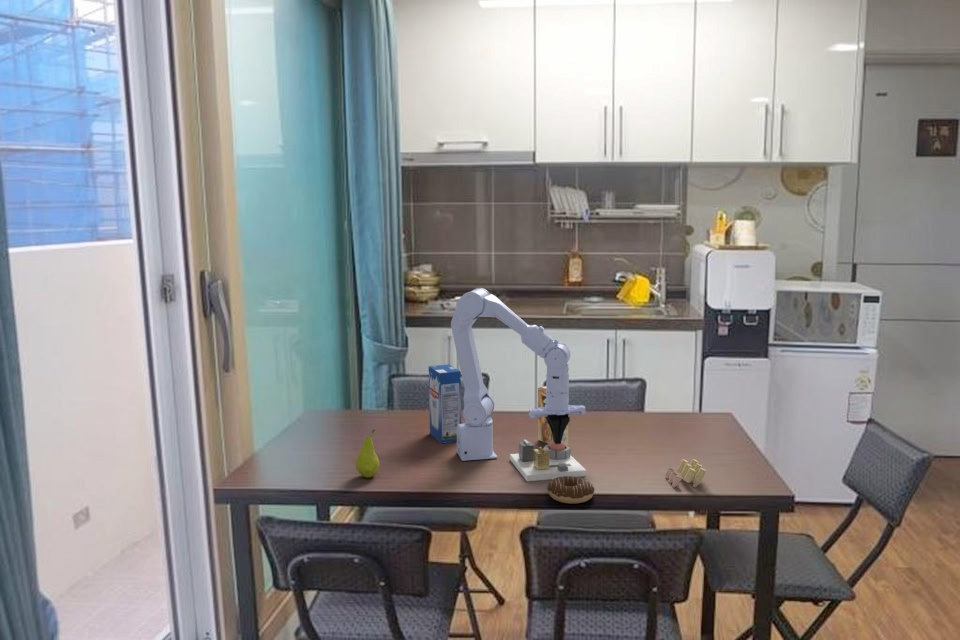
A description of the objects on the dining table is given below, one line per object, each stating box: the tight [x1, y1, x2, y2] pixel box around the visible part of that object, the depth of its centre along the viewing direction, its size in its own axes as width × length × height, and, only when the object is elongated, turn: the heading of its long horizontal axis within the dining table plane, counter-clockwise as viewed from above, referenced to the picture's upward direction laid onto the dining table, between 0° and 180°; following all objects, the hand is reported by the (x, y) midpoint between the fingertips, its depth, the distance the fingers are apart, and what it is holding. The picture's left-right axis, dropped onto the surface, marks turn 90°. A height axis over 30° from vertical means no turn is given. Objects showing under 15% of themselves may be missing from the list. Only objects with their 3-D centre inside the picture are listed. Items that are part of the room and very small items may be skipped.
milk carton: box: [427, 363, 462, 444], centre depth 216 cm, size 10×6×20 cm, turn 22°
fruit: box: [354, 428, 380, 479], centre depth 185 cm, size 6×6×12 cm
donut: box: [547, 476, 595, 505], centre depth 172 cm, size 11×11×4 cm
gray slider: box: [518, 439, 535, 461], centre depth 193 cm, size 3×4×5 cm
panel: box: [509, 444, 587, 482], centre depth 191 cm, size 15×16×4 cm
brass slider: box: [534, 446, 549, 470], centre depth 187 cm, size 3×4×5 cm
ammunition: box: [664, 458, 707, 488], centre depth 180 cm, size 5×7×8 cm
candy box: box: [537, 385, 569, 446], centre depth 210 cm, size 9×4×15 cm, turn 33°
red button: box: [549, 441, 565, 451], centre depth 195 cm, size 4×4×3 cm
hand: (557, 442), depth 195 cm, fingers closed, pressing on red button
